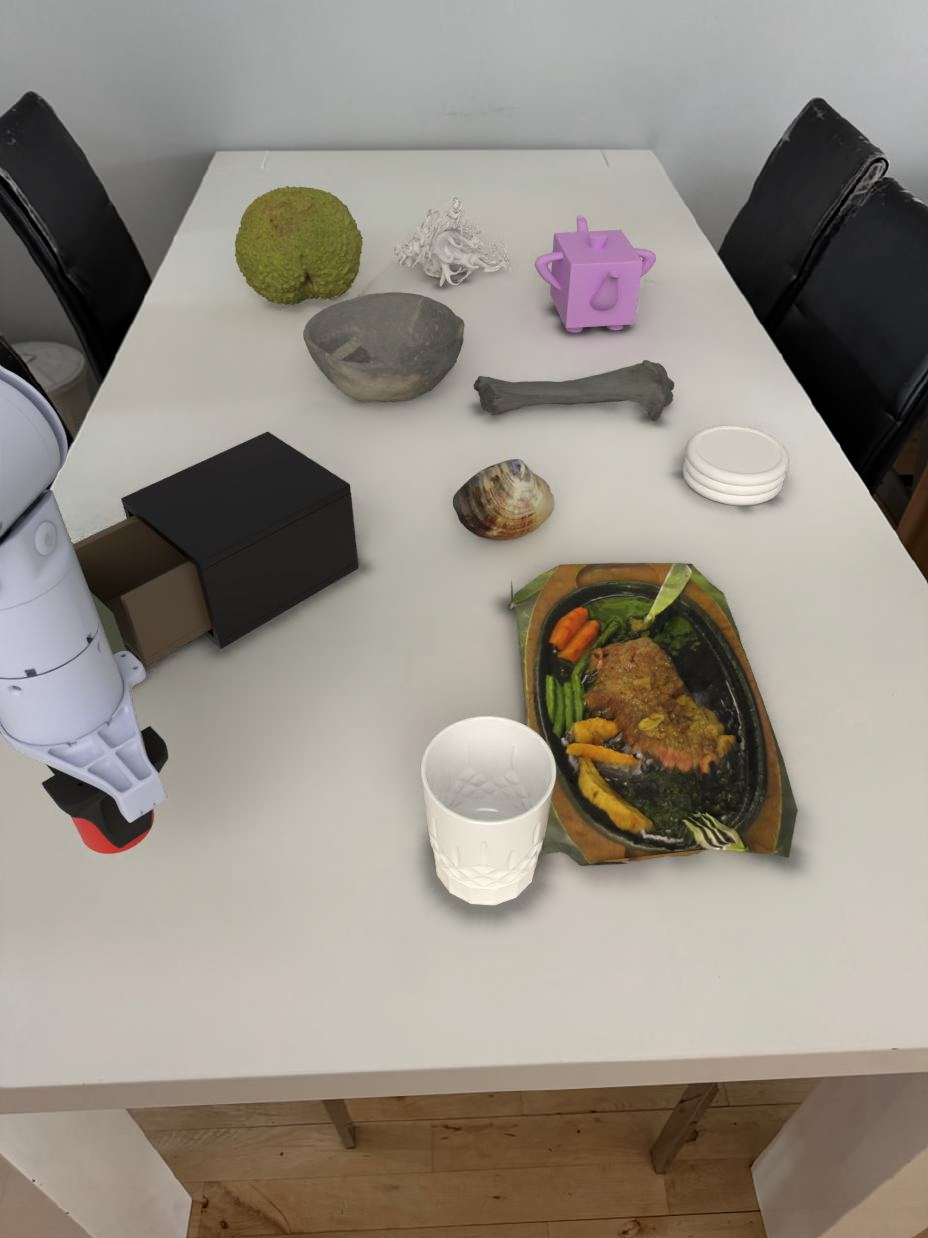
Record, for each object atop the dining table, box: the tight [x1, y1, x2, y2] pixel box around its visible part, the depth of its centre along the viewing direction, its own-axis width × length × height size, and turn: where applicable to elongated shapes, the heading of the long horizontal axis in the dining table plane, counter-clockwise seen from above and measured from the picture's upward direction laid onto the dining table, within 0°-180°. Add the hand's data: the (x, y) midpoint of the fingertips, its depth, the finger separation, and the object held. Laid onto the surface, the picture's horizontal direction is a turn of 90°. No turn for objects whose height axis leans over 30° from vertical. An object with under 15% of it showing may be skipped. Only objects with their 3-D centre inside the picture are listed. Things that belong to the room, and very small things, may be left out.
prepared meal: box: [507, 562, 798, 867], centre depth 69 cm, size 28×4×18 cm
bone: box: [473, 359, 675, 422], centre depth 99 cm, size 22×6×6 cm, turn 91°
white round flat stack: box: [681, 424, 790, 506], centre depth 91 cm, size 10×10×4 cm
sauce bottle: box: [70, 809, 155, 855], centre depth 50 cm, size 4×4×6 cm
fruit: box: [234, 185, 364, 306], centre depth 119 cm, size 16×14×15 cm
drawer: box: [72, 515, 212, 666], centre depth 72 cm, size 18×10×7 cm, turn 135°
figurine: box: [393, 195, 514, 287], centre depth 125 cm, size 13×15×12 cm
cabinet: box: [120, 431, 359, 649], centre depth 78 cm, size 15×12×9 cm
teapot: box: [534, 215, 657, 334], centre depth 115 cm, size 15×13×11 cm
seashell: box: [452, 458, 556, 541], centre depth 82 cm, size 10×6×8 cm, turn 102°
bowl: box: [302, 291, 466, 403], centre depth 103 cm, size 18×18×8 cm
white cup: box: [420, 715, 556, 906], centre depth 57 cm, size 8×8×10 cm
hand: (111, 809), depth 50 cm, fingers closed on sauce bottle, 4 cm apart
